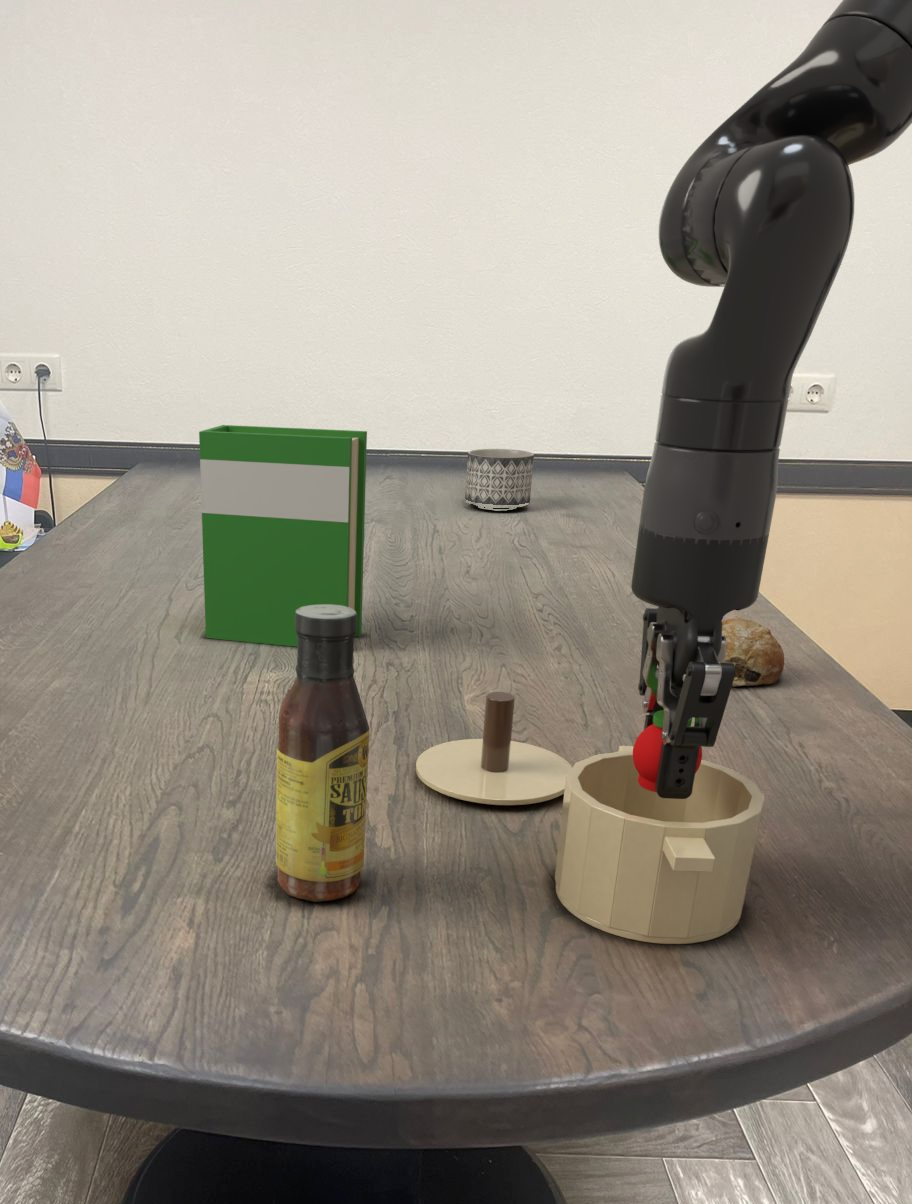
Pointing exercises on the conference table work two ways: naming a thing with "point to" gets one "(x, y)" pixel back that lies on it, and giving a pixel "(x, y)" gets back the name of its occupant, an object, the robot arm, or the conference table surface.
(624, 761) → the pot
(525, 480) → the planter
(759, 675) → the bread roll
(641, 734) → the tomato
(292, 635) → the hardback book
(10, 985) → the conference table surface
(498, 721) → the lid
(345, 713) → the sauce bottle
